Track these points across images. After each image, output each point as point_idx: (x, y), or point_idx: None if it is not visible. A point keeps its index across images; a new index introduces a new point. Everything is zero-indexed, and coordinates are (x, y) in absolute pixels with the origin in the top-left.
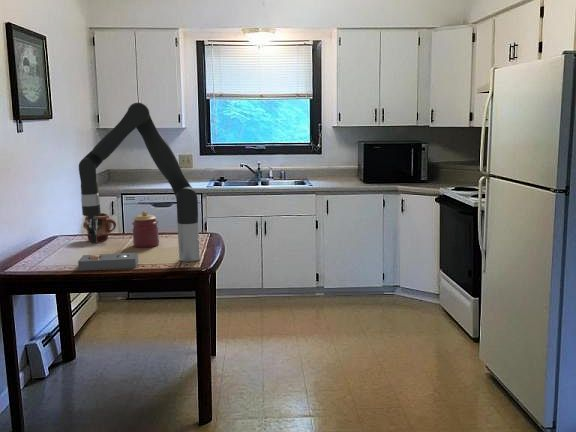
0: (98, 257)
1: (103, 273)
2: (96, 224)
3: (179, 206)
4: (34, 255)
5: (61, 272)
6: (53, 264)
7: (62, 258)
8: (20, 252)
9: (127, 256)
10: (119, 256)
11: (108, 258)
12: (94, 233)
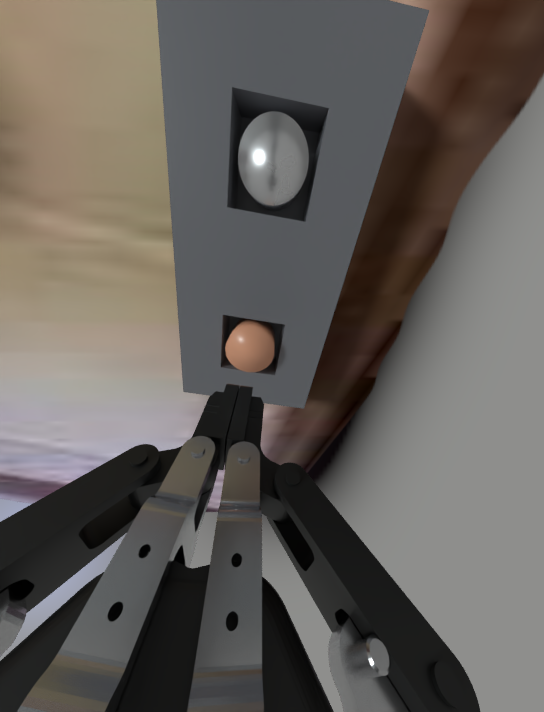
0: (265, 331)
1: (402, 298)
2: (150, 604)
3: None
4: (67, 477)
5: (300, 425)
6: None
7: (103, 425)
8: (36, 497)
9: (233, 116)
10: (272, 193)
11: (302, 276)
12: (310, 480)
